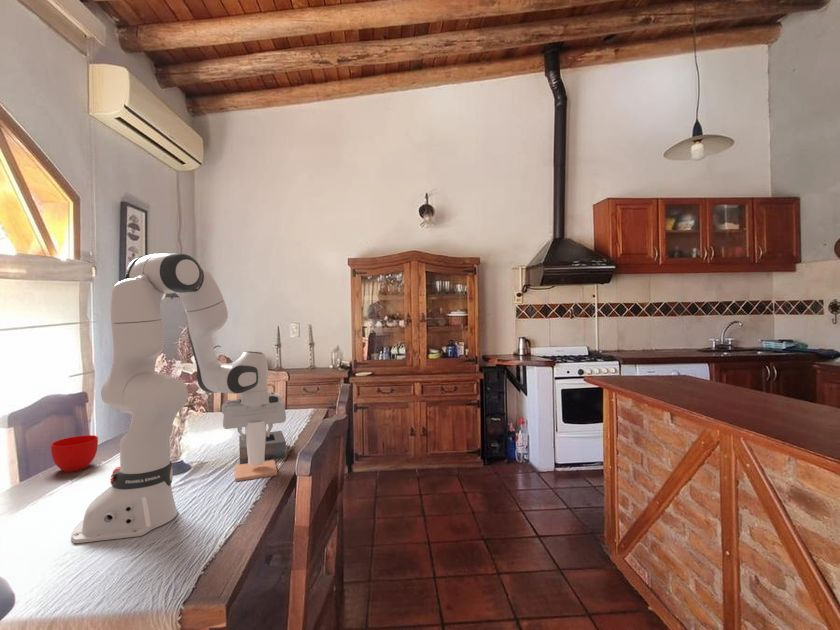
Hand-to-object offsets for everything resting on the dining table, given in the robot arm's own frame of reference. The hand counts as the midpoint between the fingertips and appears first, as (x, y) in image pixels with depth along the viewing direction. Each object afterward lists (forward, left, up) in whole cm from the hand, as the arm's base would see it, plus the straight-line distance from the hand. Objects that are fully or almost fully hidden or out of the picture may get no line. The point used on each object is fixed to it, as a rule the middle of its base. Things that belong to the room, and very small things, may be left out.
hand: (255, 438), depth 145 cm
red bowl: (-58, +32, -12) cm, 68 cm away
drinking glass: (0, 0, -9) cm, 9 cm away
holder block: (+3, +18, -11) cm, 21 cm away
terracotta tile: (0, 0, -11) cm, 11 cm away
